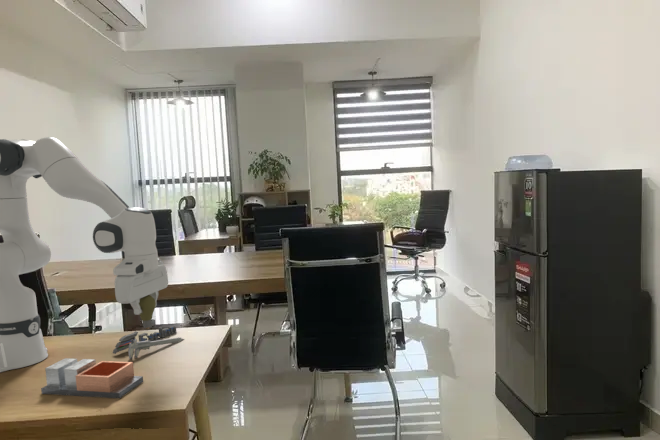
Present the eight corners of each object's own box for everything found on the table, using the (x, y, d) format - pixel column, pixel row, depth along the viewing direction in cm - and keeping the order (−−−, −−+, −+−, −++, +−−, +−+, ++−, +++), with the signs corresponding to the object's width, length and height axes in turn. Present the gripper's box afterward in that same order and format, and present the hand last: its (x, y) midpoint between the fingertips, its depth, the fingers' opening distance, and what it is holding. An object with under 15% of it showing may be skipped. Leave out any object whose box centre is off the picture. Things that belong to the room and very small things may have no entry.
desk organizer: (41, 393, 125) (39, 370, 124) (69, 377, 135) (67, 356, 134) (119, 398, 120) (117, 374, 119) (143, 381, 129) (141, 359, 129)
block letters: (115, 357, 150) (114, 340, 150) (112, 356, 151) (111, 339, 151) (176, 333, 172) (175, 318, 171) (173, 332, 172) (172, 318, 172)
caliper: (131, 360, 147) (129, 341, 146) (129, 359, 147) (127, 340, 147) (184, 340, 163) (183, 323, 163) (182, 340, 164) (181, 322, 163)
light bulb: (145, 332, 132) (142, 297, 131) (133, 330, 135) (130, 296, 134) (161, 326, 136) (158, 293, 136) (149, 324, 139) (146, 291, 139)
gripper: (153, 257, 145) (156, 300, 146) (108, 270, 125) (113, 320, 126) (171, 257, 143) (174, 301, 145) (129, 270, 123) (133, 321, 125)
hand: (145, 310), depth 135 cm, fingers closed on light bulb, 6 cm apart
